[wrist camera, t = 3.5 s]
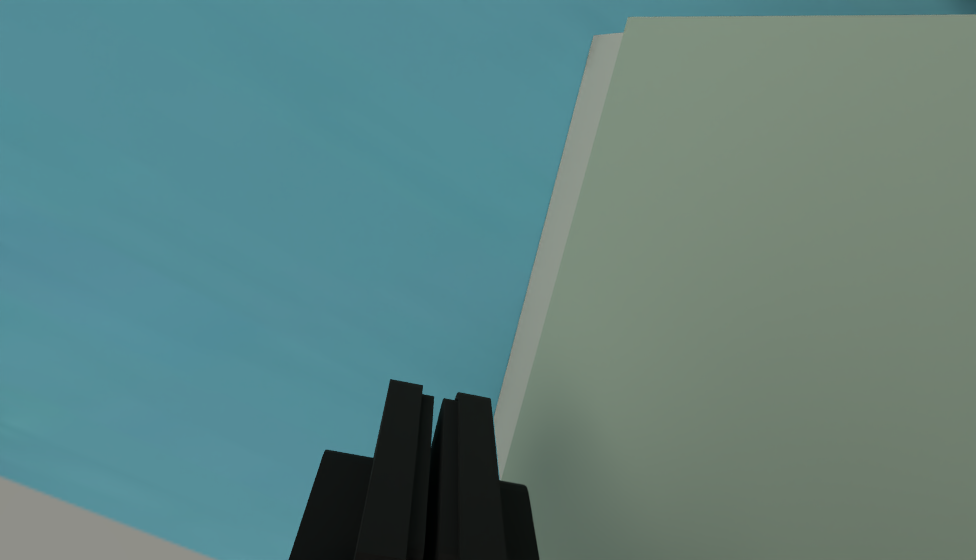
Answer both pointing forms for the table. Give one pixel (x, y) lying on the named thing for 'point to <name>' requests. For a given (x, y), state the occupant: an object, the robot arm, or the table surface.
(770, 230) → the lid
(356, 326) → the table surface
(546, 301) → the block
